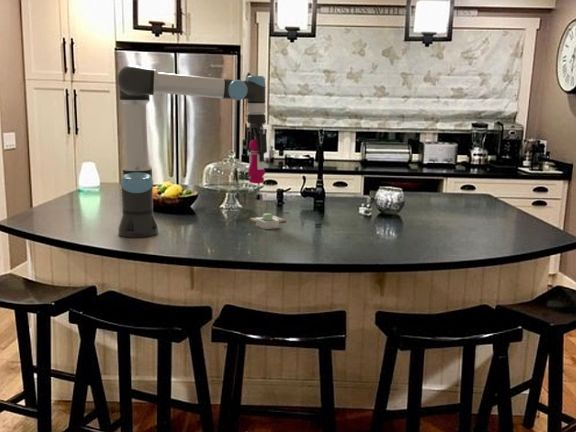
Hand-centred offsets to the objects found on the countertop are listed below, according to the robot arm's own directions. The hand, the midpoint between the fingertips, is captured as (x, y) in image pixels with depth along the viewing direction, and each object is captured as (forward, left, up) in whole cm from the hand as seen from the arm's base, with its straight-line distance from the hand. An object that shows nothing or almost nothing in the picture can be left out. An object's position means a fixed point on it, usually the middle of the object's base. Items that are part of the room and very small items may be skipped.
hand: (256, 168), depth 246 cm
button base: (+1, -8, -24) cm, 25 cm away
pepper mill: (0, 0, -6) cm, 6 cm away
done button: (+1, -8, -22) cm, 24 cm away
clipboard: (+7, +1, -24) cm, 25 cm away
